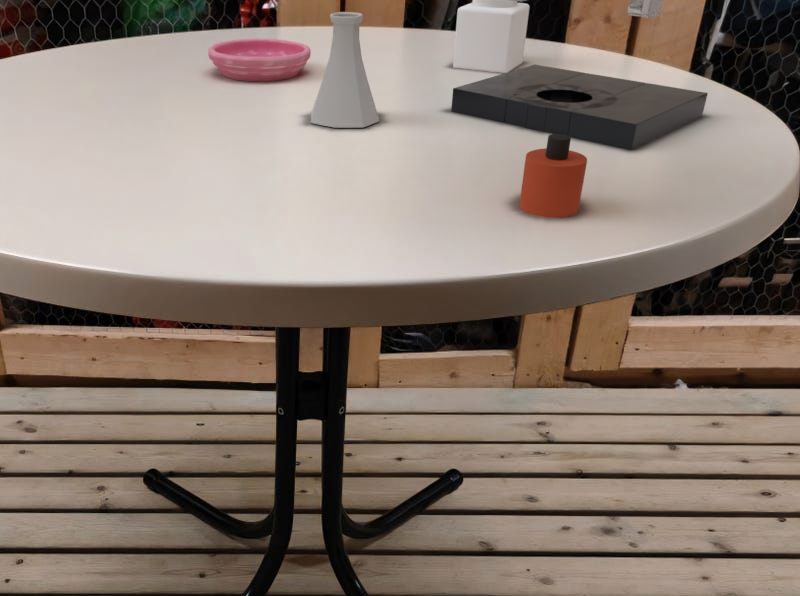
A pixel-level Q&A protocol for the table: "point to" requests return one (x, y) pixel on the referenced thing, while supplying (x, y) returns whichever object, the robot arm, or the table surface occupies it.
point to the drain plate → (580, 105)
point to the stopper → (553, 179)
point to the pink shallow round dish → (259, 59)
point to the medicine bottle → (490, 35)
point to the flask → (345, 79)
